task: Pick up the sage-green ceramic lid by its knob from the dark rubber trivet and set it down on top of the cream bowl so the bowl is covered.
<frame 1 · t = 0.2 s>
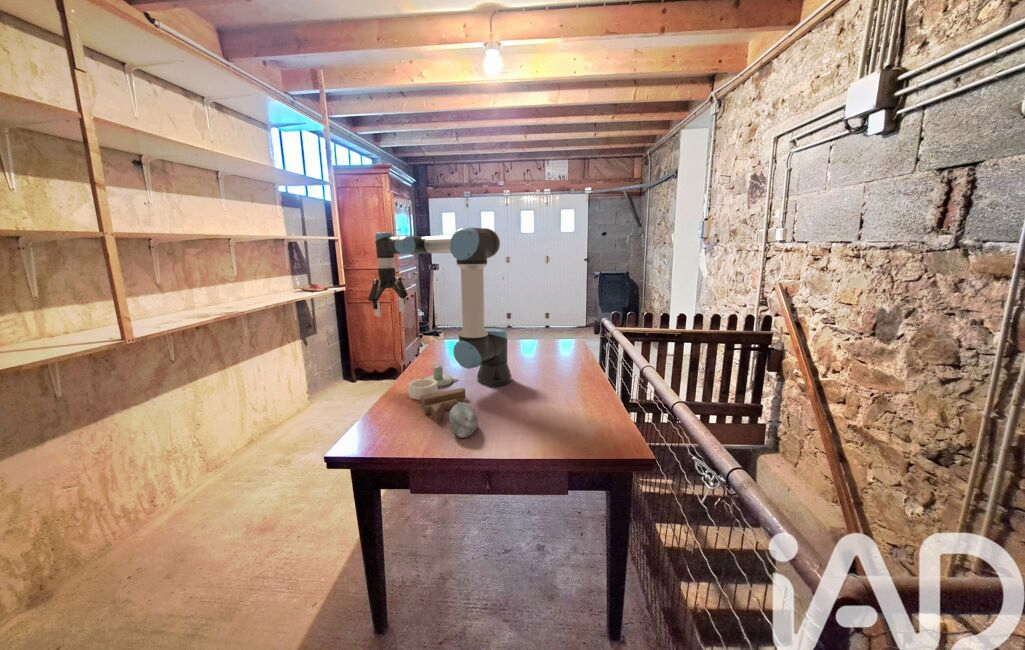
hand: (390, 314, 178), 28 cm above the table, tool pointing down, fingers open, 13 cm apart
bowl: (423, 394, 154), on the table
wooden block set: (449, 410, 140), on the table
lid: (438, 382, 167), resting on trivet
trivet: (438, 383, 167), on the table
grey rock: (464, 431, 124), on the table
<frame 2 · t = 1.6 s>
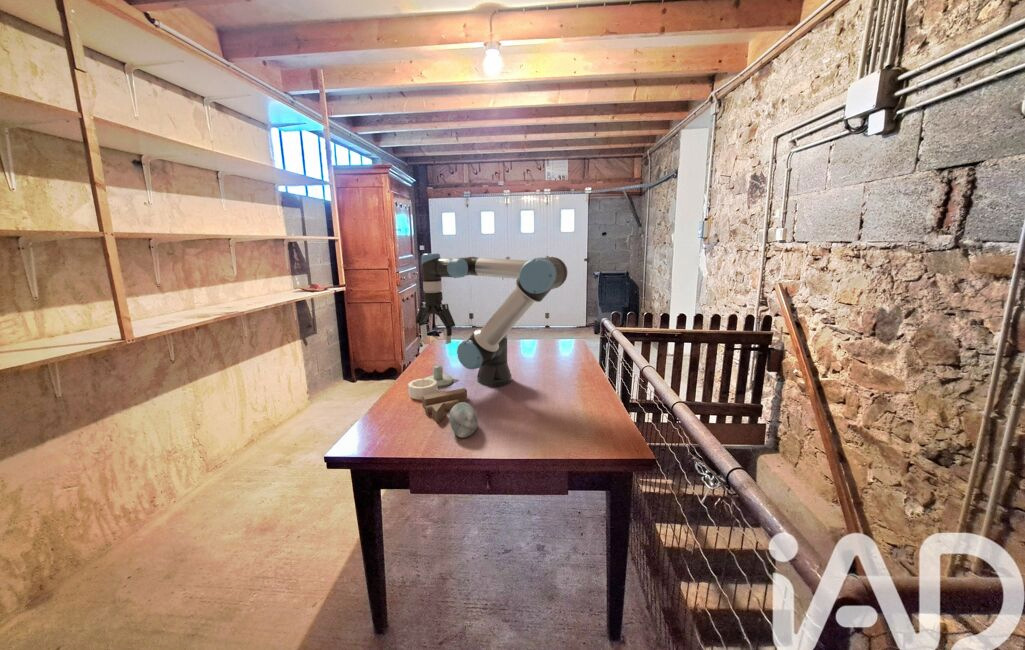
hand: (436, 341, 163), 19 cm above the table, tool pointing down, fingers open, 13 cm apart
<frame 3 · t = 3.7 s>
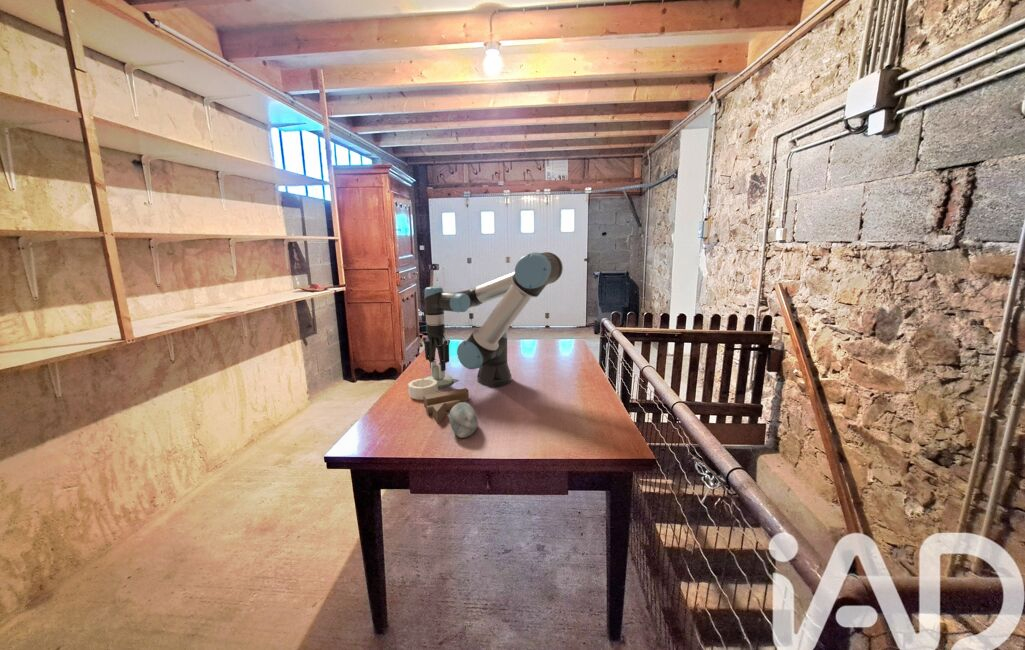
hand: (438, 376, 166), 3 cm above the table, tool pointing down, fingers closed on lid, 4 cm apart
lid: (438, 382, 167), point 1 cm above the table, touching gripper, trivet
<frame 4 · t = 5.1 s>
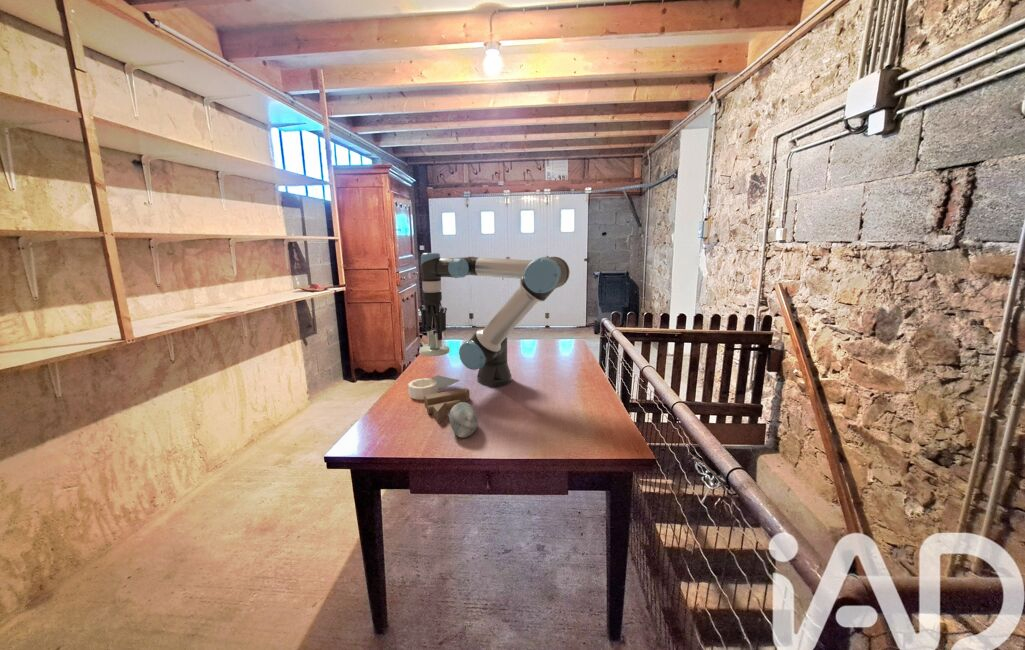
hand: (434, 346, 162), 17 cm above the table, tool pointing down, fingers closed on lid, 4 cm apart
lid: (435, 352, 163), point 14 cm above the table, touching gripper
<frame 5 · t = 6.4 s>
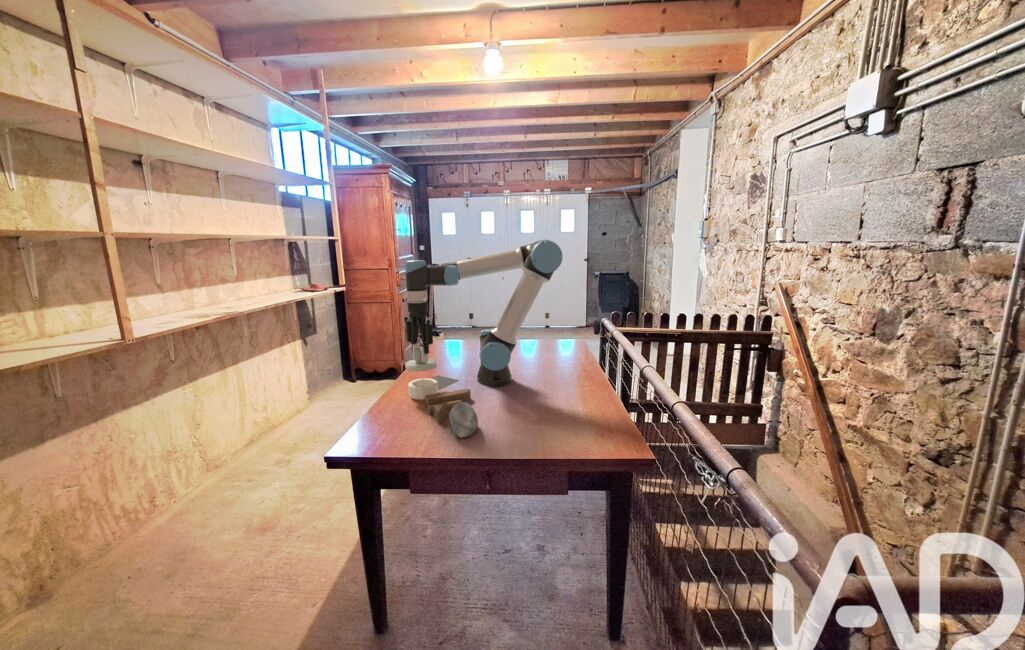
hand: (420, 360, 151), 14 cm above the table, tool pointing down, fingers closed on lid, 4 cm apart
lid: (421, 366, 151), point 12 cm above the table, touching gripper
when the fingers open (9 cm above the table, at t = 7.5 s): lid drops 1 cm, resting on bowl.
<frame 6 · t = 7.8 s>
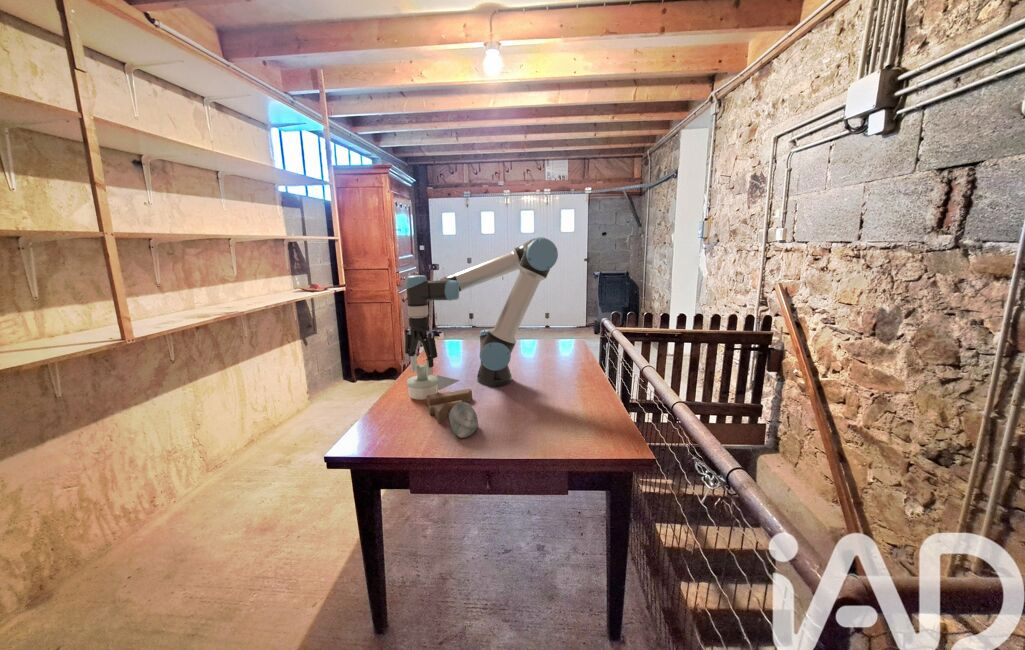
hand: (422, 373, 152), 9 cm above the table, tool pointing down, fingers open, 8 cm apart
lid: (422, 383, 153), point 5 cm above the table, touching bowl
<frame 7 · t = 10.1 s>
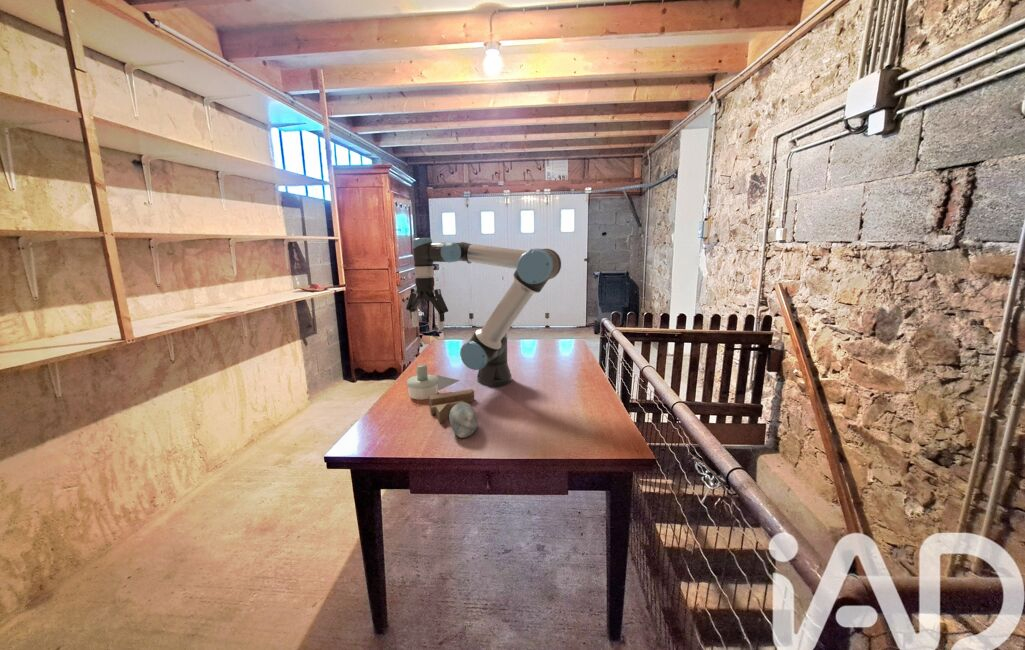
hand: (427, 328, 161), 25 cm above the table, tool pointing down, fingers open, 13 cm apart
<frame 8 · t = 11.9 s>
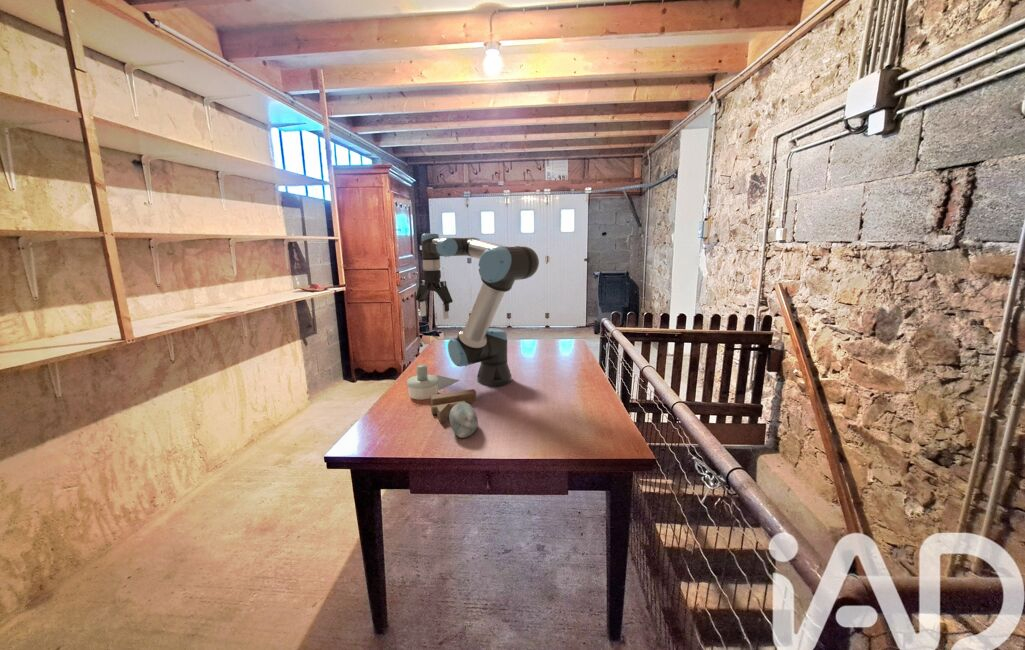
hand: (434, 317, 173), 27 cm above the table, tool pointing down, fingers open, 13 cm apart
at the end: lid 0.0 cm off-centre on the bowl, point 5.0 cm above the bowl's base; lid tilted 0°; the gripper is holding nothing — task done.
